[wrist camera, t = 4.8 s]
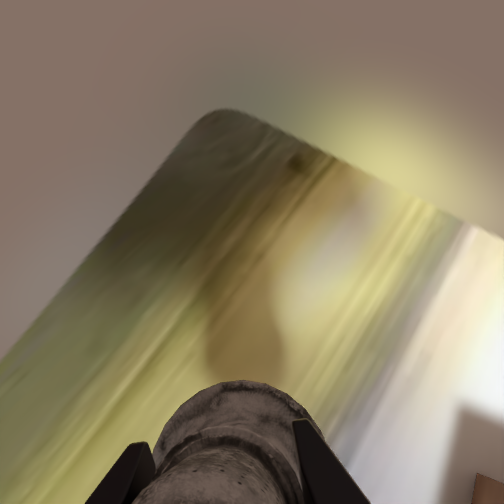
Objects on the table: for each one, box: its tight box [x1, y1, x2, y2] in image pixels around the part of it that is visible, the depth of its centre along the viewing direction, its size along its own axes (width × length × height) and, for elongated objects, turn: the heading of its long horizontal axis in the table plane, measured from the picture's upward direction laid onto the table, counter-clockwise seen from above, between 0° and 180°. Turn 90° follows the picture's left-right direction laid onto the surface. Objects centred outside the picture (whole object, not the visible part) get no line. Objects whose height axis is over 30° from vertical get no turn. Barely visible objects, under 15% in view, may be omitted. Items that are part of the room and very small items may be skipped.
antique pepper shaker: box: [132, 380, 325, 504], centre depth 9 cm, size 6×6×12 cm
